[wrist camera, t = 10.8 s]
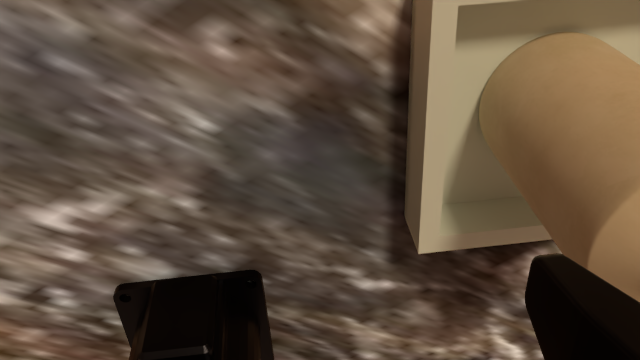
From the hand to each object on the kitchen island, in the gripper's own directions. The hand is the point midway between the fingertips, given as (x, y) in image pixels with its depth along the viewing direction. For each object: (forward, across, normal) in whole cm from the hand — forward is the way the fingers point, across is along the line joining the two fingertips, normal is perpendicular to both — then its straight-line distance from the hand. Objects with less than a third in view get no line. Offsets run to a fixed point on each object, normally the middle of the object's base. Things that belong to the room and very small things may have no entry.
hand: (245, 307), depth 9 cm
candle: (+13, -11, +4) cm, 17 cm away
